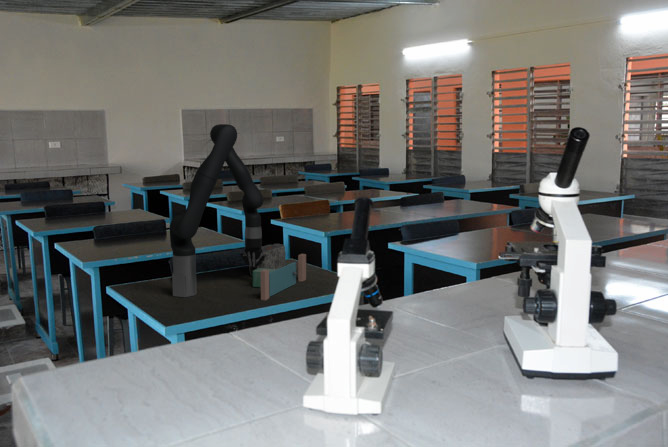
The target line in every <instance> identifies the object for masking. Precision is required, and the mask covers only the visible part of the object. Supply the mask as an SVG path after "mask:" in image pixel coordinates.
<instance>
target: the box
mask: <svg viewBox="0 0 668 447" xmlns="http://www.w3.org/2000/svg"><path fill="white" fill-rule="evenodd" d="M262 270H269V273H270V272H272V271H275V270H277V269H266V268H257V269H256V270H254V271H253V275H252V288H261V271H262Z"/></svg>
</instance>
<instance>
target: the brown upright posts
mask: <svg viewBox="0 0 668 447" xmlns="http://www.w3.org/2000/svg"><path fill="white" fill-rule="evenodd" d="M297 256H298V257H297V265H298V266H297V271H298V272H297V276H298V278H297V281H298V282H304V281H306V280H307V254H306V253H300V254H298V255H297ZM269 299H270V297H269V270H262V271H261V287H260V300H261V301H268V300H269Z"/></svg>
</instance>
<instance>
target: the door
mask: <svg viewBox="0 0 668 447" xmlns="http://www.w3.org/2000/svg"><path fill="white" fill-rule="evenodd" d="M297 276H298V272H297V262H295V261H294V262H291V263H289V264H286V266H284V267H282V268H279V269H277V270H275V271H272V272H270V273H269V298H270V297H272V296H274V295H276V294H278V293H281V292H282V291H284V290H286V289H287V288H289V287H292V286H294V285H296V284H297Z"/></svg>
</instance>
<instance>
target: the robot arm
mask: <svg viewBox="0 0 668 447" xmlns="http://www.w3.org/2000/svg"><path fill="white" fill-rule="evenodd" d="M209 133H210V134H209V135H210V136H209V137H210V139H211V141H212V143H213V147H212V149H211V151H210V153H209V154H208V155H207V157H206V158H205V159H204V160H203V161H202V163H201V164H200V165H199V167H198V168H197V169H196V172H195V174H194V176H193V179H192V182H191V183H190V184H191V185H190V190H189V200H188V204H187V207H186V208H185V211H184V213H183V214H182V215H181V214H180V215H176V216H174V217H173V218H172V219H171V221H170V224H169V237H170V238H169V239H170V240H169V241H170V242H169V243H170V247H171V250H172V266H173V267H172V270H173V271H172V272H173V273H172V277H171V278H172V280H171V281H172V284H171V285H172V297H178V298H188V297H193V296H196V295H197V265H196V263H197V262H196V261H197V260H196V254H197V253H196V247H195V244H194V243H193V241H192V238H194V237H195V236H196V234H197V232H198V230H199V226H200V223H201V220H202V217H203V214H204V212H205V209H206V206H207V204H208V202H209V200H210V198H211V195H212V193H213V192H214V191H213V190H214V189H215V187H216V184H217V182H218V180H219V177H220V174H221V172H222V169H223V167H224V165H225V163H226V164H227V167H228V169H229V171H230V172H231V175H232V177H233V179H234V182H235V184H236V186H237V187H238V189H239V190H240V191H242V192H243V195H242V200H241V202H242V204H241V205H242V210H243V213H244V251H243V252H241V253H239V255H240V257H241V258H242V260H243V262H244V263H245V265H246V266H248V267H249V266H250V267H249V274H250V273H251V274H250V275H251V276H253V271H254V270H256V269H257V266H259V265H261V264H262V262H263V261H264V260H265V258H266V257H267V255H264V254H263V253H262V252H263V251H262V246H263V238H262V237H263V234H262V232H263V231H262V216H261V214H260V213H259V212H258V209H259V208H261V207H262V206H263V205H264V204H263V203H264V197H263V194H262V192H261V190H260V189H259V187H258V186H257V184H256V183H255V182H254V180H253V177H252V176H251V173H250V171H249V169H248V167H247V165H246V164H245V163H244V162H243V161H242V160H243V159H241V157H240V156H239V155H238V153H237V152H236V150H235V148H234V145H235V144H236V142H237V140H238V132H237V129H236V127H235V126H234V125H231V124H224V123H222V124H221V123H220V124H216V125H214V126H213V127H212V128H211V129H210V132H209ZM260 255H261V256H260ZM259 257H260V260H259ZM258 260H259V261H258Z"/></svg>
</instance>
